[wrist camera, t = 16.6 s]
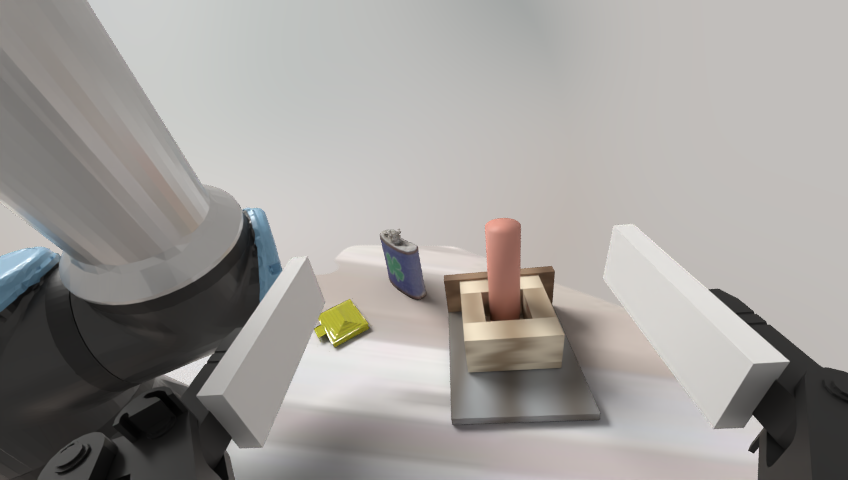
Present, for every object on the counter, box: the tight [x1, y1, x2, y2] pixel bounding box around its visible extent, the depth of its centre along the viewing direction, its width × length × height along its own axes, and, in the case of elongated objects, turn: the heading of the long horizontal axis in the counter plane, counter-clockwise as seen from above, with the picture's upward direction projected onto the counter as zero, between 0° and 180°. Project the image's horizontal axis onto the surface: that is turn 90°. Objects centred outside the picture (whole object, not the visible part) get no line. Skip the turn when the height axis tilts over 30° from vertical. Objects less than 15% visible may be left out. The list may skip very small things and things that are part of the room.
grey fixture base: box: [444, 266, 601, 425], centre depth 36 cm, size 14×16×6 cm
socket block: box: [460, 275, 565, 373], centre depth 38 cm, size 10×10×5 cm
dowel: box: [485, 218, 521, 322], centre depth 35 cm, size 4×4×14 cm
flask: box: [380, 229, 426, 300], centre depth 50 cm, size 9×3×11 cm, turn 37°
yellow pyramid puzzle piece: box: [314, 298, 372, 352], centre depth 46 cm, size 10×9×3 cm
